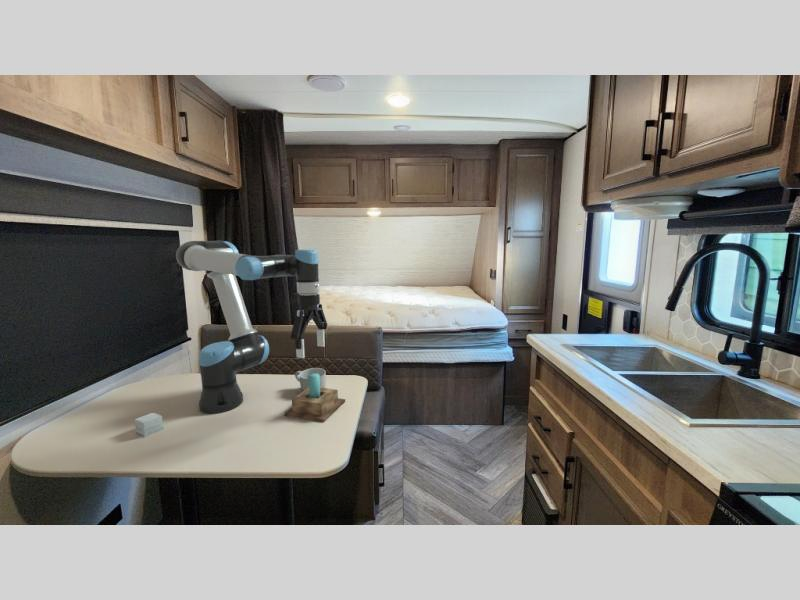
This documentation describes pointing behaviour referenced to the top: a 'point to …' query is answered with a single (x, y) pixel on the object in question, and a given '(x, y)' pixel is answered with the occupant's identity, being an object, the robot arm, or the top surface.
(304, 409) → the socket
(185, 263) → the robot arm
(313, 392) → the peg
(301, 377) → the teacup
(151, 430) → the small box
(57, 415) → the top surface
